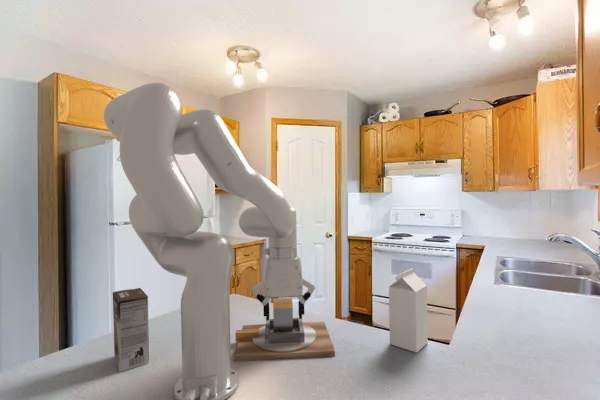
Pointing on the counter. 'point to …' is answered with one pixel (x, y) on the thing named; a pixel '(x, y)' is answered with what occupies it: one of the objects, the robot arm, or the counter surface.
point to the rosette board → (283, 341)
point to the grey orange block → (283, 314)
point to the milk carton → (408, 312)
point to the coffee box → (131, 328)
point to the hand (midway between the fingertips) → (284, 317)
